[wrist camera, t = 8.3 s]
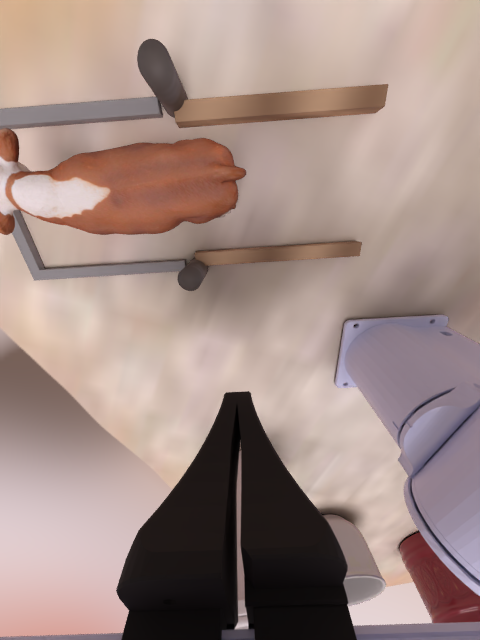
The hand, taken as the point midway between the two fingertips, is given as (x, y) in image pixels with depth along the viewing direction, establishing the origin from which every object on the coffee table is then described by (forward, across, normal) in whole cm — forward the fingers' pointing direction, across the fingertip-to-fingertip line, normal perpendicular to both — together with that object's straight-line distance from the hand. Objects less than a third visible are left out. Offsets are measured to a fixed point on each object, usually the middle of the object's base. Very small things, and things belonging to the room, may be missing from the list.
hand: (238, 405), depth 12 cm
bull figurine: (+10, +6, -11) cm, 16 cm away
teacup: (+10, -12, +40) cm, 43 cm away
